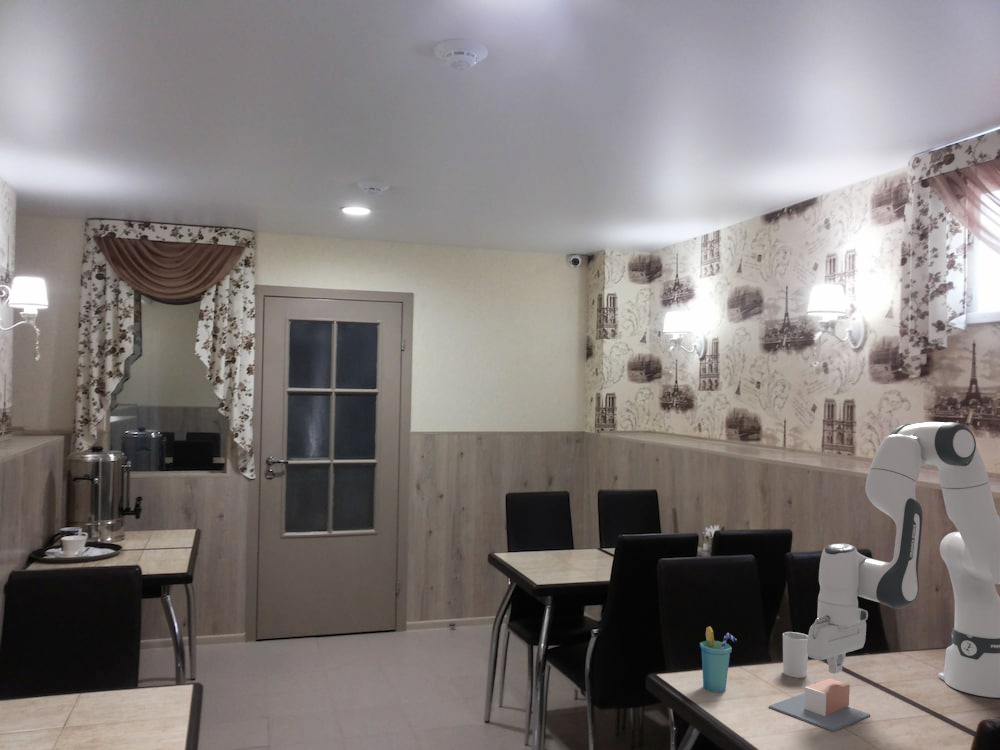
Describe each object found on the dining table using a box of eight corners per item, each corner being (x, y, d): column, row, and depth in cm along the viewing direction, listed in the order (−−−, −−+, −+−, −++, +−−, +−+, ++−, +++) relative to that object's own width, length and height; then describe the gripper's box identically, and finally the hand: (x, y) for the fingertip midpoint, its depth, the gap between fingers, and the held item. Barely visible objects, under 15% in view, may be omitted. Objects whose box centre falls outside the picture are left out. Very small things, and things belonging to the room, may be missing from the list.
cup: (747, 698, 195) (749, 635, 196) (720, 701, 193) (722, 637, 193) (713, 678, 208) (715, 619, 209) (686, 681, 206) (689, 621, 206)
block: (829, 678, 196) (804, 687, 189) (849, 684, 192) (825, 693, 185) (829, 699, 196) (804, 708, 189) (848, 705, 192) (824, 716, 185)
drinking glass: (803, 680, 210) (805, 641, 210) (777, 673, 214) (779, 635, 214) (811, 673, 215) (812, 635, 216) (786, 667, 219) (787, 630, 220)
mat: (806, 694, 200) (806, 692, 200) (870, 715, 188) (870, 714, 188) (768, 707, 190) (768, 705, 190) (833, 731, 178) (833, 729, 178)
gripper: (826, 622, 185) (823, 684, 185) (871, 611, 197) (869, 668, 197) (801, 616, 190) (798, 675, 190) (846, 605, 202) (844, 661, 202)
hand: (835, 672), depth 193 cm, fingers closed
